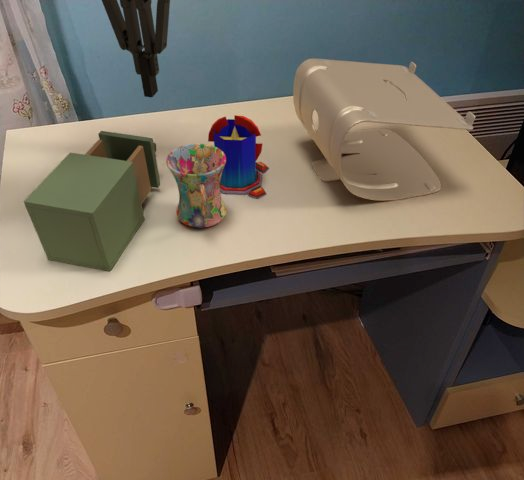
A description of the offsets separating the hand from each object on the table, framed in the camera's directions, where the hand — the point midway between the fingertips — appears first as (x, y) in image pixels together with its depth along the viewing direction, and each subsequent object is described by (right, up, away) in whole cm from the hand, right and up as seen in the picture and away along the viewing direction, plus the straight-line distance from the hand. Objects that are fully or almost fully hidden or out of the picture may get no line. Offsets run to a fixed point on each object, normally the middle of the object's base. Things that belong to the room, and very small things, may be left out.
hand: (151, 93), depth 89 cm
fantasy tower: (+15, -14, +4) cm, 21 cm away
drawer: (-4, -18, -1) cm, 19 cm away
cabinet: (-7, -28, -8) cm, 29 cm away
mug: (+10, -24, -4) cm, 26 cm away
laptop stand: (+40, -10, +8) cm, 42 cm away
